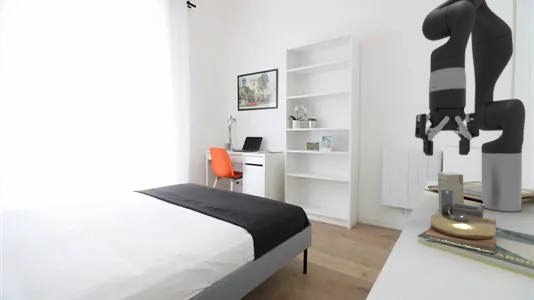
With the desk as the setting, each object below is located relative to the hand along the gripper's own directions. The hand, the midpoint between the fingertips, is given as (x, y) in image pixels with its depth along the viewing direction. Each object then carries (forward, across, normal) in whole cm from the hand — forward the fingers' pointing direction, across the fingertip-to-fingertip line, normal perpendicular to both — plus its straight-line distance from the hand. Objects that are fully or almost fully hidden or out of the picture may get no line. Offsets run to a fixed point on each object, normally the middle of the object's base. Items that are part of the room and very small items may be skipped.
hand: (446, 155), depth 65 cm
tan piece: (+19, +2, -3) cm, 19 cm away
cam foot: (+17, 0, -5) cm, 18 cm away
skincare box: (+19, +9, +12) cm, 24 cm away
